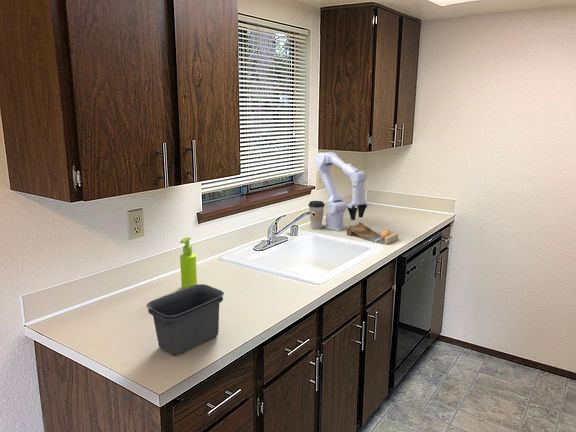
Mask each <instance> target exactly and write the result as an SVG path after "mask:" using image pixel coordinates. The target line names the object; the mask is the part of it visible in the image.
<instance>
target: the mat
mask: <svg viewBox="0 0 576 432" xmlns="http://www.w3.org/2000/svg"><path fill="white" fill-rule="evenodd" d="M363 240H364V241H368V242H372V243H376V244H377V243H378V244H383V245H386V246H387V245H388V244H391V243H394V242H395V241H397V240H399V232H398V233H397V232H395V233H392V234H391V235H390V236H388V237H386V238H385V240H384V239H383V238H382V237H381V234H378V235H374V236H372V237H369V239H366V238H365V239H363Z"/></svg>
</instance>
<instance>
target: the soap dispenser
mask: <svg viewBox="0 0 576 432" xmlns="http://www.w3.org/2000/svg"><path fill="white" fill-rule="evenodd" d="M190 240H192V239H191V237H184V238H182V239H181V240H180V241H179V243H181V244H184V245H183V246H182V253H181V254H179V261H180V262H179V263H180V277H181V278H180V280H181V282H180V283H181V290H182V289H185V288H188V287H190V286H194V285H198V280H197V279H198V278H197V259H196V258H197V255H196V254H195V253H194V252H193V247H192V245H191V244H190Z"/></svg>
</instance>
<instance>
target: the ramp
mask: <svg viewBox="0 0 576 432" xmlns="http://www.w3.org/2000/svg"><path fill="white" fill-rule="evenodd" d="M346 235H347V236H351V237H352V236H353V235H357V236H359V237H360V238H362V240H364V239H365V238H366V239H369V237H372V236H374V235H379V233H377V232H376V231H374V230H373V229H371V228H370V227H368V226H367V225H366V224H364V223H362V222H358V224H354V225H349V226H348V227H347V228H346Z"/></svg>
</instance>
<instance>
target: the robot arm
mask: <svg viewBox="0 0 576 432" xmlns="http://www.w3.org/2000/svg"><path fill="white" fill-rule="evenodd" d="M315 161H316V163H317V165H318V172H319V174H320V176H321V180H322V183H323V185H324V188H325V190H326V191H325V192H326V194H327V197H328V200H327V201H326V204H327V210H328V212H327V213H326V215H325V227H324V229H327V230H331V231H335V232H336V231H337V232H340V231H343V230H347V228H346V227H345V226H344V213H345V212H346V210H347V211H348V213H349V216H350V220H351V221H356V218H357V217H356V215H358V218H364V217H363V216H364V213H365V211H366V209H367V208H368V204H367V200H366V199H364V183H365V181H366V180H367V174H366V173H365V171H364V170H359V169H358V168H356V167H354V165H353V164H352V163H346V162H344V160H342V159H341V158H340V157H339V156H338V155H337V153H335V152H334V151H327V152H319V153H318V154H317V156H316V158H315ZM333 165H335V166H336V167H338V168H340V169H341V170H342V172H343V174H345V175H346V176H347V177H348V178H350V182H351V185H352V195H351V197H352V198H351V199H352V200H351V202H350V203H348V204H347V203H346V202H345V200H344V199H343V197H342V196H340V195H339V194H338V191H337V188H336V185H335V182H334V180H333V177H332V174H331V171H330V169H331V167H333ZM357 211H358V214H357Z"/></svg>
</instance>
